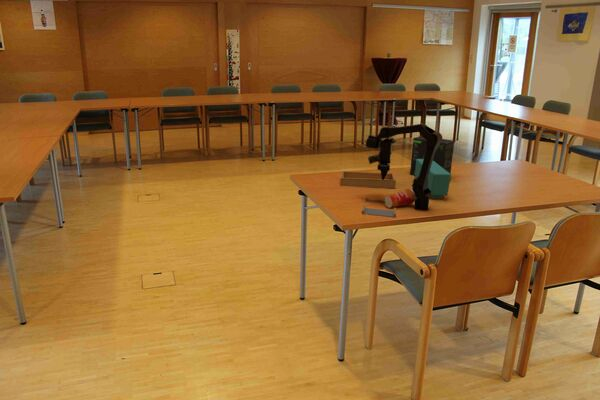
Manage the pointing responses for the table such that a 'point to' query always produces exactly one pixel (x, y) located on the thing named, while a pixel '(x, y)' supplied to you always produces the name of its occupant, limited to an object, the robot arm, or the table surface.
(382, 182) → the tray
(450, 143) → the headset box
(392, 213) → the mat
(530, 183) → the table surface
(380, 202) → the strip
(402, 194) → the coffee cup
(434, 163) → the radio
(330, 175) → the table surface
